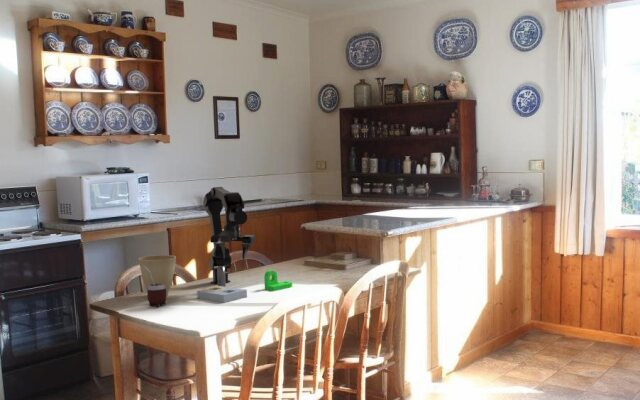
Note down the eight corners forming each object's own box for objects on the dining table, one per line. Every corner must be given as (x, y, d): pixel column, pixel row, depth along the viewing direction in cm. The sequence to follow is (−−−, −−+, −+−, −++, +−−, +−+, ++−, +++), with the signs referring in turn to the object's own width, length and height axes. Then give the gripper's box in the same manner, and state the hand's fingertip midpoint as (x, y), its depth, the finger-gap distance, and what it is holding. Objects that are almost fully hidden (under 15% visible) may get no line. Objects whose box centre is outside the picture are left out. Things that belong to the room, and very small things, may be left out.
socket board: (197, 298, 263) (196, 290, 263) (219, 292, 272) (219, 285, 272) (224, 302, 253) (224, 294, 253) (246, 297, 262) (246, 289, 262)
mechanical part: (274, 291, 273) (273, 272, 272) (264, 289, 277) (264, 271, 276) (295, 287, 281) (294, 268, 281) (285, 285, 285) (285, 267, 285)
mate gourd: (167, 306, 250) (165, 267, 249) (145, 308, 248) (144, 268, 247) (166, 302, 257) (164, 264, 256) (145, 304, 255) (143, 266, 254)
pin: (216, 290, 277) (215, 267, 276) (222, 289, 280) (221, 266, 279) (221, 291, 275) (220, 268, 274) (227, 290, 277) (226, 266, 277)
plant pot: (158, 301, 260) (156, 261, 259) (132, 297, 268) (130, 259, 267) (185, 293, 273) (183, 255, 272) (159, 291, 281) (158, 254, 280)
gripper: (203, 224, 270) (204, 261, 272) (244, 225, 265) (246, 263, 266) (215, 221, 281) (216, 257, 282) (255, 221, 275) (257, 258, 276)
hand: (233, 259), depth 276 cm, fingers open, 9 cm apart
